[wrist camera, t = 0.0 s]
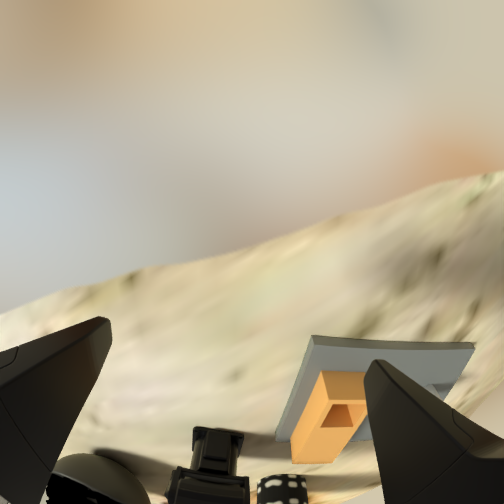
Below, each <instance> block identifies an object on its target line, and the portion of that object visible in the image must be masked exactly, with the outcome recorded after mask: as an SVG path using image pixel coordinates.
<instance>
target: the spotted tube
mask: <svg viewBox="0 0 504 504" xmlns="http://www.w3.org/2000/svg"><path fill="white" fill-rule="evenodd" d="M257 504H308V496H307V487H306V479H305V478H304V477H302V476H299V475H292V474H281V475H273V476H269V477H265V478H263V479H261V480H259V481H258V483H257Z"/></svg>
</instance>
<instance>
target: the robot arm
mask: <svg viewBox="0 0 504 504" xmlns="http://www.w3.org/2000/svg"><path fill="white" fill-rule="evenodd" d="M111 345H112V331H111V323H110V320H109V319H108V318H104V317H101V316H98V317H95V318H92V319H89V320H87V321H84V322H81V323H79V324H76V325H73V326H71V327H68V328H65V329H63V330H60V331H57V332H54V333H52V334H49V335H46V336H44V337H41V338H38V339H35V340H33V341H30V342H27V343H25V344H22V345H19V347H18V346H16V347H14V348H11V349H8V350H5V351H2V352H0V504H8V503H10V504H40V501H41V498H42V496H43V494H44V491H45V489H46V486H47V484H48V481H49V479H50V476H51V474H52V473H51V472H52V471H53V469H54V467H55V464H56V462H57V460H58V457H59V455H60V453H61V451H62V449H63V446H64V444H65V442H66V440H67V438H68V436H69V434H70V432H71V430H72V427H73V425H74V423H75V421H76V419H77V417H78V415H79V413H80V411H81V409H82V407H83V406H84V404H85V402H86V400H87V398H88V396H89V394H90V392H91V390H92V388H93V386H94V385H95V383H96V381H97V379H98V376H99V374H100V372H101V369H102V367H103V364H104V362H105V359H106V357H107V354H108V352H109V350H110V347H111ZM363 383H364V391H365V398H366V406H367V414H368V420H369V424H370V429H371V433H372V438H373V442H374V447H375V452H376V457H377V462H378V467H379V472H380V477H381V483H382V489H383V494H384V501H385V504H504V439H502V438H500V437H498V436H497V435H495V434H493V433H491V432H490V431H488V430H486V429H484V428H483V427H481V426H479V425H478V424H476V423H474V422H473V421H471V420H469V419H468V418H466V417H465V416H463V415H462V414H460V413H459V412H458V411H456V410H455V409H453V408H451V407H450V406H449V405H448V404H446V403H445V402H443V401H442V400H440V399H439V398H438V397H436V396H435V395H433V394H432V393H431V392H429V391H428V390H426V389H425V388H424V387H422V386H421V385H419V384H418V383H416V382H415V381H414V380H412V379H411V378H409V377H408V376H407V375H405V374H404V373H403V372H401V371H400V370H398V369H397V368H396V367H394V366H393V365H391V364H390V363H389V362H387V361H386V360H384V359H374V360H373V361H372V362H371V364H370V366H369V368H368V370H367V372H366V374H365V376H364V380H363ZM243 440H244V435H243V434H239V433H231V432H224V431H217V430H211V429H205V428H200V427H194V428H193V441H192V451H193V456H192V461H191V466H190V469H187V468H182V467H181V466H178V467H177V470H173V471H172V475H171V479H170V482H169V484H168V487H167V489H166V491H165V497H166V498H167V499H168V503H169V504H250V486H249V477H247V476H244V477H241V476H236V470H237V458H238V457H239V454H240V450H241V447H242V444H243Z"/></svg>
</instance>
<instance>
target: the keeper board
mask: <svg viewBox="0 0 504 504" xmlns="http://www.w3.org/2000/svg"><path fill="white" fill-rule="evenodd" d="M474 351H475V348H474V347H473V345H472V344H471V343H470V342H462V343H428V342H395V341H375V340H360V339H347V338H335V337H324V336H314V335H311V338H310V341H309V344H308V347H307V350H306V353H305V356H304V359H303V362H302V365H301V368H300V370H299V373H298V376H297V379H296V381H295V384H294V387H293V389H292V392H291V395H290V397H289V400H288V402H287V405H286V407H285V410H284V412H283V415H282V417H281V420H280V422H279V425H278V427H277V429H276V432H275V441H276V442H291V441H290V438H291V436H292V434H293V432H294V430H295V428H296V426H297V423H298V421H299V419H300V417H301V415H302V413H303V411H304V409H305V406H306V404H307V402H308V400H309V398H310V395H311V393H312V391H313V388H314V386H315V384H316V381H317V379H318V377H319V374H320V372H321V370H324V371H344V372H365V374H366V372H367V370H368V368H369V366H370V364H371V362H372V361H373V360H374V359H384V360H386V361H387V362H389V363H390V364H391V365H393V366H394V367H396V368H397V369H398V370H400V371H401V372H403V373H404V374H405V375H407V376H408V377H409V378H411V379H412V380H414V381H415V382H416V383H418V384H419V385H421V386H422V387H424V388H425V389H426V390H428V391H429V392H431V393H432V394H433V395H435V396H436V397H438V398H439V399H440V400H442V401H443V400H444V399H445V398H446V396H447V395H448V393H449V392H450V390H451V389H452V387H453V386H454V384H455V383H456V381H457V379H458V378H459V376H460V375H461V373H462V371H463V370H464V368H465V366H466V365H467V363H468V361H469V359H470V358H471V356H472V354H473V352H474ZM365 440H373V438H372V433H371V429H370V424H369V420H368V414H367V415H366V417H365V418H364V420H363V421H362V423H361V424H360V426H359V427H358V429H357V430H356V431H355V433H354V434H353V436H352V437H351V438H350V440H349V441H348V442H352V441H365Z"/></svg>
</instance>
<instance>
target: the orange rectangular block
mask: <svg viewBox="0 0 504 504" xmlns="http://www.w3.org/2000/svg"><path fill="white" fill-rule="evenodd" d="M364 376H365V372H344V371H324V370H321V372H320V374H319V377H318V379H317V381H316V384H315V386H314V388H313V391H312V393H311V395H310V398H309V400H308V402H307V404H306V406H305V409H304V411H303V413H302V415H301V417H300V419H299V421H298V423H297V426H296V428H295V430H294V432H293V434H292V436H291V438H290V441H291V453H292V464H324V463H332V462H333V461H334V460H335V458H336V457H337V456H338V455H339V453H340V452H341V451H342V449H343V448H344V447H345V445H346V444H347V443H348V441H349V440H350V438H351V437H352V436H353V434H354V433H355V431H356V430H357V429H358V427H359V426H360V424H361V423H362V421H363V420H364V418H365V417H366V415H367V406H366V398H365V391H364V383H363V380H364Z"/></svg>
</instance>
